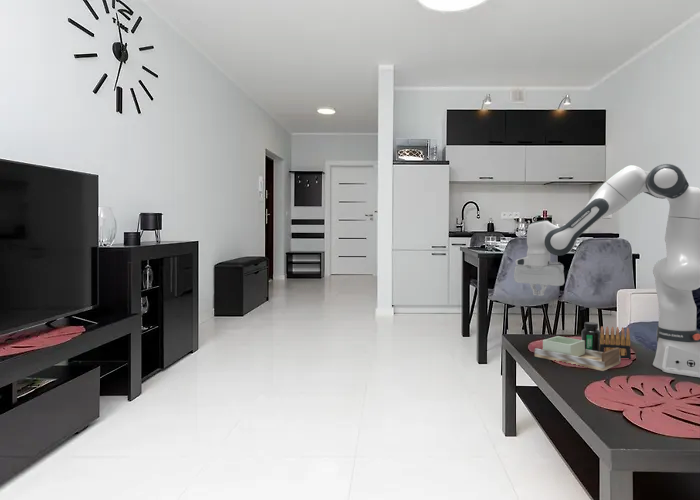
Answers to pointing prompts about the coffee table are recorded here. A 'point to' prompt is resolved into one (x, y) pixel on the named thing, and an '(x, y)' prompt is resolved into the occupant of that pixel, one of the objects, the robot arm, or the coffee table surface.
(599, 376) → the coffee table surface
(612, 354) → the striped flat box
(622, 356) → the ammunition clip
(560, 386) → the coffee table surface
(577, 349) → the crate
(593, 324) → the supplement bottle
